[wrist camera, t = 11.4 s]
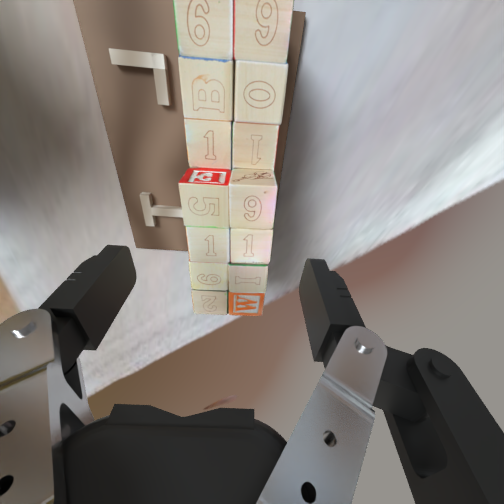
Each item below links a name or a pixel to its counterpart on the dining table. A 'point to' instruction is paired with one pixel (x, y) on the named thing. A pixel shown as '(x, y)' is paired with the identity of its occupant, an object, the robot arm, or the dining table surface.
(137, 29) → the board
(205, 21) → the stack of blocks
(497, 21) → the dining table surface
